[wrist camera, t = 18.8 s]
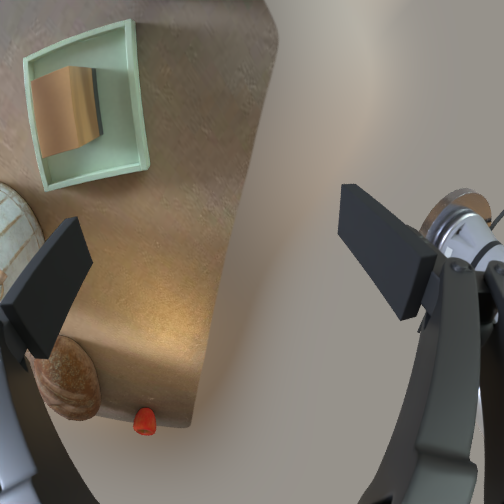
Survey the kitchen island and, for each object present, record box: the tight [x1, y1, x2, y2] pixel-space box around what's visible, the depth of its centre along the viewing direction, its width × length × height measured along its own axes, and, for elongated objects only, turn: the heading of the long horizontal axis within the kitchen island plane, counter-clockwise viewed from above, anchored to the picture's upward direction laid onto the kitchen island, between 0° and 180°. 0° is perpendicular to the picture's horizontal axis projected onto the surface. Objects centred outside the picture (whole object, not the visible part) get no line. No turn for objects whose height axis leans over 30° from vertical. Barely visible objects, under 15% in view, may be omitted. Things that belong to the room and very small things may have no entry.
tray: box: [23, 19, 150, 192], centre depth 28 cm, size 16×20×2 cm
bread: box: [34, 335, 101, 421], centre depth 50 cm, size 16×29×11 cm, turn 162°
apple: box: [133, 408, 156, 435], centre depth 63 cm, size 6×6×8 cm
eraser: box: [31, 66, 104, 158], centre depth 25 cm, size 5×9×8 cm, turn 3°
